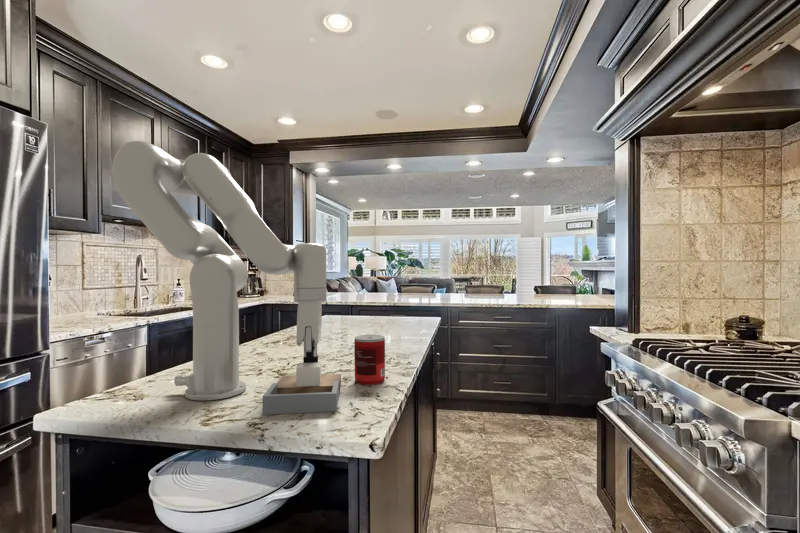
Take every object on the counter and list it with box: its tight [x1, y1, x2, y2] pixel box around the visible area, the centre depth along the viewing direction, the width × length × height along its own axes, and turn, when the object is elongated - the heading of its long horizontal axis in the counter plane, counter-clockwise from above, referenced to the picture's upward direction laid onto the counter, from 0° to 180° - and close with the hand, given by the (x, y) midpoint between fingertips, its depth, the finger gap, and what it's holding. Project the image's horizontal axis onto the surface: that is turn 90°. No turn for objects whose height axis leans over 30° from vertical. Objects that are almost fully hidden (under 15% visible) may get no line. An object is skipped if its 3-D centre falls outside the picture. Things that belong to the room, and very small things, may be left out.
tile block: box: [295, 361, 323, 387], centre depth 87 cm, size 5×5×4 cm
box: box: [262, 381, 340, 416], centre depth 79 cm, size 14×9×4 cm, turn 96°
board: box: [276, 373, 342, 394], centre depth 89 cm, size 14×10×2 cm
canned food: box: [353, 334, 386, 386], centre depth 98 cm, size 8×8×11 cm
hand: (310, 373), depth 91 cm, fingers closed
